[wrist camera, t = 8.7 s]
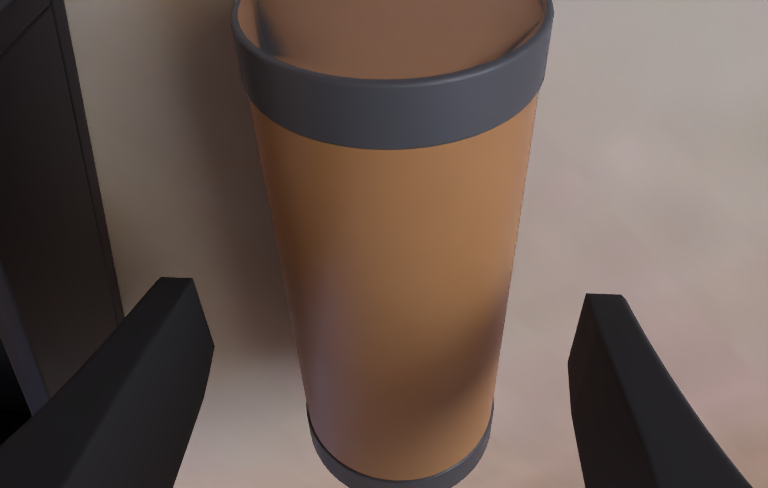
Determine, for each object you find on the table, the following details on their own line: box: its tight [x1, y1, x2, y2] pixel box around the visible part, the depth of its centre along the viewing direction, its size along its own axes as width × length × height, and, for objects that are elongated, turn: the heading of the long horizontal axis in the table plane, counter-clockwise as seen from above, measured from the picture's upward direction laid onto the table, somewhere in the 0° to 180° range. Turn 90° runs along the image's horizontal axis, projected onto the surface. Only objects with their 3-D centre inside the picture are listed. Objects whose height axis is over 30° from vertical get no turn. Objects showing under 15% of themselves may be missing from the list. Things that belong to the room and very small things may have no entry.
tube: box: [231, 0, 554, 488], centre depth 14 cm, size 11×5×5 cm, turn 2°
